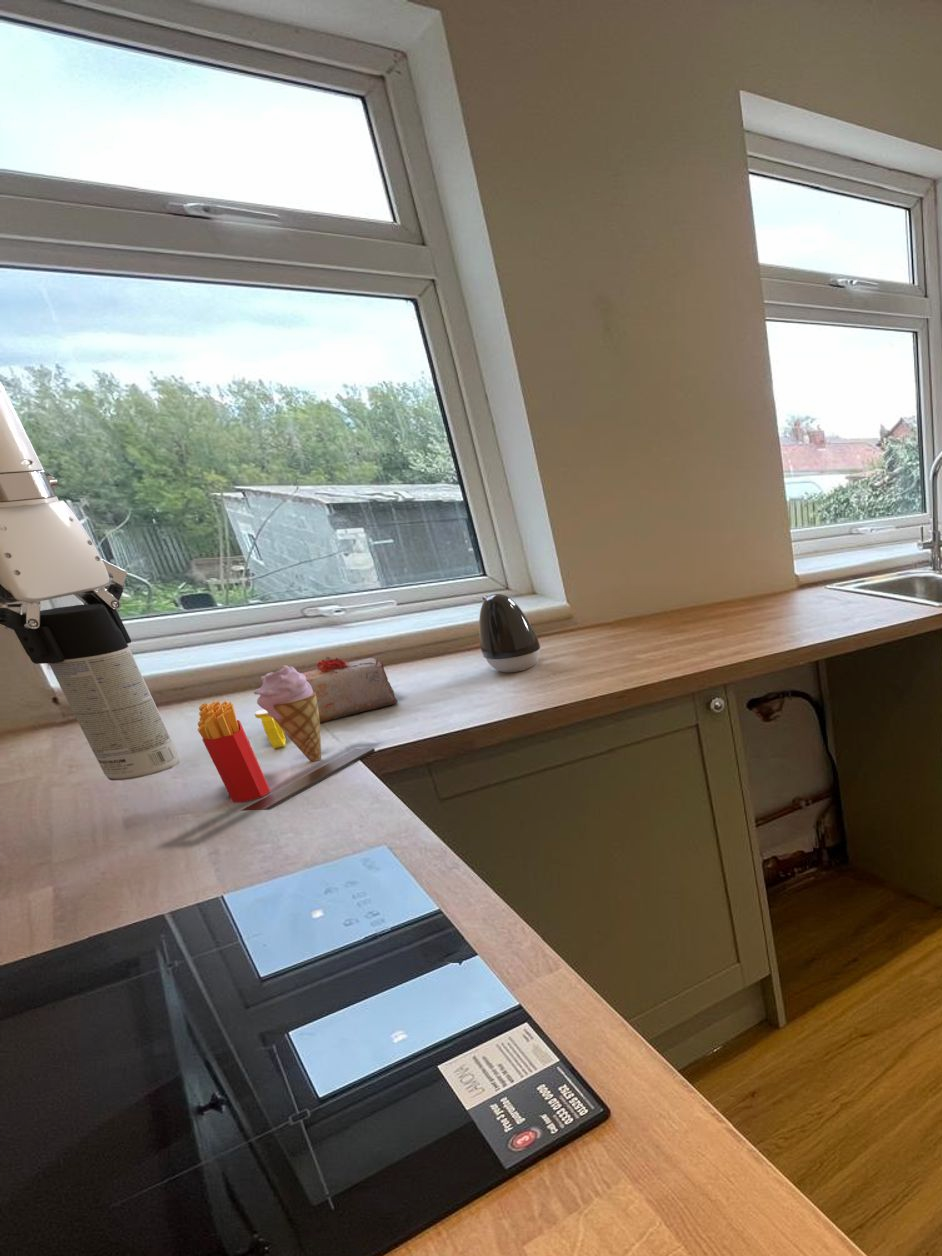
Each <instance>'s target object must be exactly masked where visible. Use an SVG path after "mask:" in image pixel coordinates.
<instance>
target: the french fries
mask: <svg viewBox="0 0 942 1256" xmlns="http://www.w3.org/2000/svg"><path fill="white" fill-rule="evenodd" d="M198 709H199V713H198V715H199V718H198V719H199V721H198V723H197V726H198V728H197V731H198V733H199V734H200V736H201V738H202V740H201V741H202V742H203V744H204V746H205V748H206V750H207V752H208V754H209V756H210V759H211V760H212V763H213V764H214V767H215V768H216V771H217V773H218V775H219V777H220V779H221V781H222V783H223V785H224V787H225V789H226V791H227V793H228V795H229V798H230V800H231V802H232V803H246V802H248V801H252V800H256V799H260V798H264V797H265V796H267V795H269V793H270V792H271V790H270V789H271V788H270V787H269V784H268V782H267V779H266V777H265V774H264V772H263V770H262V768H261V765H260V764H259V761H258V759H257V757H256V755H255V751H254V750H253V747H252V745H251V743H250V740H249V738H248V736H247V734H246V732H245V729H244V727H243V725H242V723H241V721H240V720H239V719H237V715H236V711H235V708H234V704H233V702H232V701H229V702H228V700H225V701H223V702H222V703H221V702H220V700H218V701H216V702H215V701H212V702H211V703H209V704H208V703H207V702H204V703H202V704H201V705H200V706H199V707H198Z"/></svg>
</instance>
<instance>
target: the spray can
mask: <svg viewBox="0 0 942 1256" xmlns="http://www.w3.org/2000/svg"><path fill="white" fill-rule="evenodd" d="M40 627H48V628H49V629H50V630H51V632H52V634H53V636H54V638H55V640H56V642H57V644H58V645H59V647H60V649H61V651H62V653H63V655H64V657H65V660H64V661H63V662H59V663H48V665H49V667H50V669H51V671H52V673H53V675H54V677H55V679H56V681H57V682H58V685H59V687H60V689H61V690H62V693H63V695H64V696H65V699H66V701H67V703H68V705H69V706H70V707H69V708H70V709H71V711H72V713H73V715H74V717H75V719H76V721H77V723H78V725H79V727H80V728H81V731H82V732H83V735H84V736H85V739H86V740H87V743H88V744H89V747H90V748H91V751H92V753H93V754H94V757H95V759H96V760H97V763H98V764H99V767H100V768H101V771H102V772H103V775H104V776H105V777H106V778H107V779H108V780H110V781H128V780H135V779H139V778H143V777H148V776H152V775H155V774H159V773H162V772H165V771H168V770H171V769H173V768H174V767H176V766H177V765H179V763H180V761H181V758H180V755H179V753H178V750H177V749H176V747H175V744H174V741H173V740H172V738H171V736H170V733H169V731H168V729H167V726H166V724H165V722H164V721H163V718H162V716H161V713H160V712H159V709H158V707H157V705H156V703H155V701H154V698H153V696H152V694H151V692H150V690H149V687H148V686H147V683H146V681H145V679H144V677H143V674H142V672H141V670H140V667H139V666H138V663H137V661H136V659H135V657H134V654H133V653H132V651H131V649H130V648H131V647H129V643H128V644H127V642H126V640H125V638H124V636H123V634H122V632H121V630H120V629H119V628H118V627H117V625H116V624H115V622H114V620H113V619H112V617H111V615H110V614H109V612H108V610H107V608H106V606H105V605H103V604H84V603H83V604H75V605H69V606H60V607H53V608H49V609H42V610H40Z"/></svg>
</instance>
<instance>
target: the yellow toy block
mask: <svg viewBox="0 0 942 1256" xmlns="http://www.w3.org/2000/svg"><path fill="white" fill-rule="evenodd" d="M254 716H255V718H256V719H260V720H261V723H262V727H263V729H264V732H265V735H266V737H267V739H268V741H269V743H270V745H271V746H272V748H273V749H280V748H285V747H286V742H287V739H286V736H285V735H286V734H285V732H284V731H283V730H282V729H281V727H280V726H279V725H278V724H277V722H276V721H275V720H274V718H273V717H270V716H269V714H268V712H267V711H266V710H264V709H263V708H261V709H259V710H256V711H255V712H254Z"/></svg>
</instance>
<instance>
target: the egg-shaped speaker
mask: <svg viewBox="0 0 942 1256" xmlns="http://www.w3.org/2000/svg"><path fill="white" fill-rule="evenodd" d="M482 601H483V602H482V604H481V607H480V610H479V619H478V620H479V621H478V622H479V623H478V628H479V630H478V634H479V644H480V651H481V655H482V657H483V658H484V659H485V660H486V662H487V663H488V664H489V665H490V667H492V668H493V669H494V670H497V671H499V672H502V673H517V672H523V671H525V670H528V669H531V668H532V667H533V666H534V665H535V664H536V663H537V662H538V660H539V658H540V649H541V644H540V641H539V639H538V636H537V634H536V632H535V630H534V628H533V626H532V624H531V622H530V621H529V619H528V618H527V616H526V615H525V613H524V611H523V610H522V608H521V607H520V606H519V604H517V603H516V602H515V601H514V600H513V599H512V598H511V597H509V596H508V595H506V594H502V593H494V594H491V595H489V596H488V595H483V596H482Z"/></svg>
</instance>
